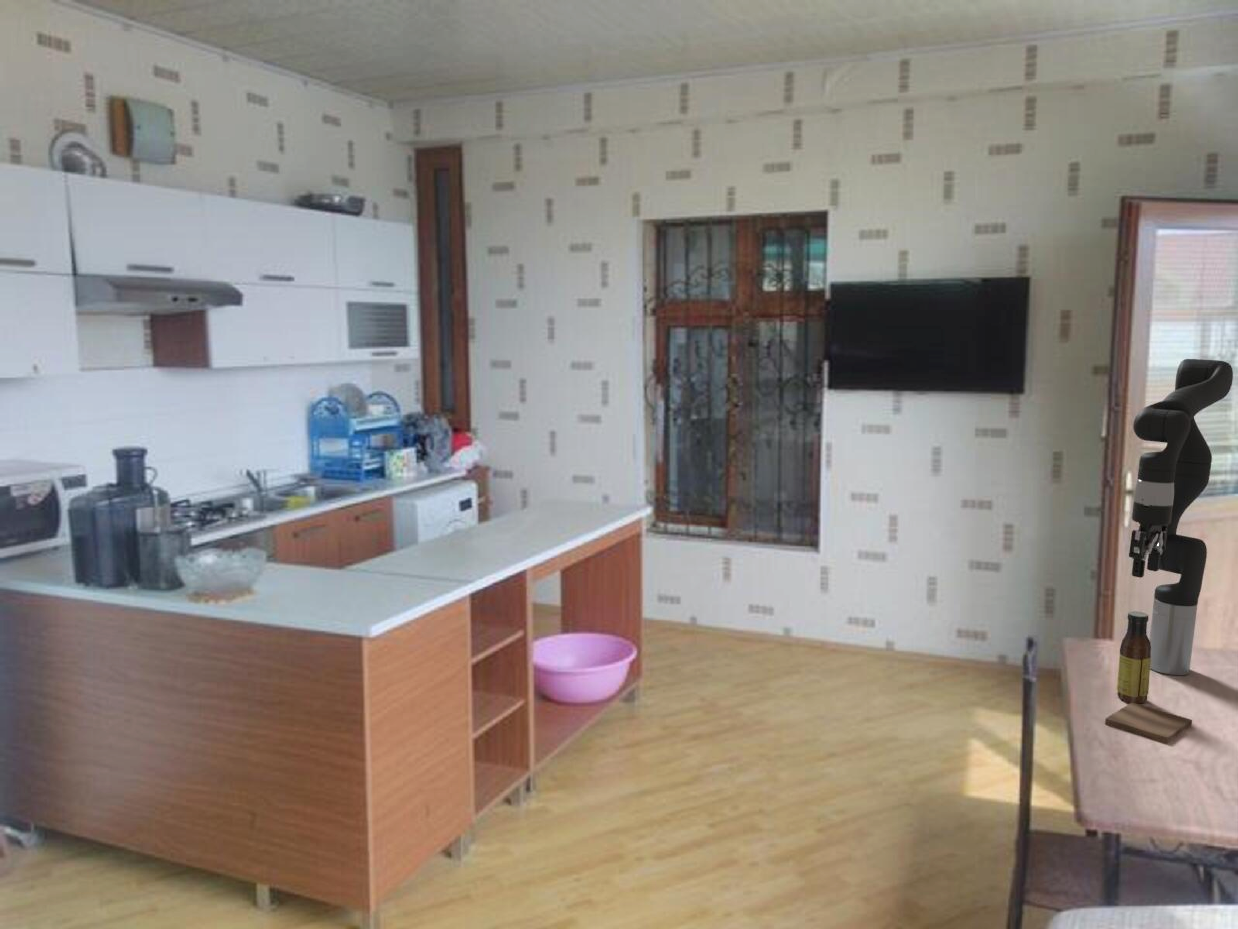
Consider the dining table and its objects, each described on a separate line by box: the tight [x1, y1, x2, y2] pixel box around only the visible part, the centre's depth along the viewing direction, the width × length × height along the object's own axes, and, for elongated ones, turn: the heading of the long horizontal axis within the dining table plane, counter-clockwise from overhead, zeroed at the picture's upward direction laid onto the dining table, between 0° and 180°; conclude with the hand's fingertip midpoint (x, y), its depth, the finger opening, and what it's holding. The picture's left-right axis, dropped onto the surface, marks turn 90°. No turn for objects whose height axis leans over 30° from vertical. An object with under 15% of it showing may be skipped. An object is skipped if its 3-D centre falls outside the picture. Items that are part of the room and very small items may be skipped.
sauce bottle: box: [1116, 611, 1151, 704], centre depth 218 cm, size 6×6×20 cm
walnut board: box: [1104, 702, 1193, 744], centre depth 205 cm, size 14×12×1 cm
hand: (1145, 573), depth 215 cm, fingers open, 8 cm apart
